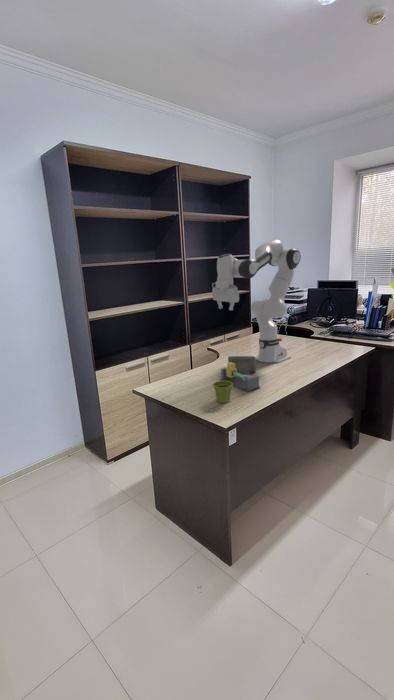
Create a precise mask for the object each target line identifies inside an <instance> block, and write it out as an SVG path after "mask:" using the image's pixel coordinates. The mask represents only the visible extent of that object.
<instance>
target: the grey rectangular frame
mask: <svg viewBox="0 0 394 700" xmlns="http://www.w3.org/2000/svg"><path fill="white" fill-rule="evenodd" d="M226 368H227V367H223V368H221V369H220V376H221V377H220V379H219V381H230V382H232V383H233V385H232V387H235V388H236V389H239V390H241V391H243V392H246V393H250V392H252V391H255V390H258V389H261V386H260V376H258V375H254V376H252V375H250V374H249V375H242V374H239V373H237V372H234V371H232V374H233V375H235V376H236V377H232V378H230V377H227V376H226Z"/></svg>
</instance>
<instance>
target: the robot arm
mask: <svg viewBox="0 0 394 700" xmlns="http://www.w3.org/2000/svg"><path fill="white" fill-rule="evenodd" d="M301 258H302V255H301V252H300V250H298V249H296V248H287V247H286V248H285V247H284V244H283V243H282V241H281V240H279V239H272V240H269V241H266V242H263V243H262V244H260V245H259V246H257V247H256V249H255V251H254V259H252V258H248V259H247V258H246V259H237V258H236V257H234V255H232V253H225V254H220V255H219V256H218V257H217V261H216V272H217V276H216V277H217V278H216V281H215V282H213V283H212V284H211V287H212V293H211V294H212V296H211V297H212V300H213V301H216V303H217V305H218V309H220V310H222V309H223V307H224V305H222V302H226V303H229V307H228V310H229V311H234V306H235V303H239V301H240V292H239V290H238V286H237V285H235V284H234V278H242V279H243V278H244V279H252V278H254V277H255V275H256V274H257V273H258V272H259V271H260V270H261V269H262V268H264V267H265V266H267V265H270V266H272V267H278V271H276V273H275V275H274V277H273V278H272V281H271V283H270V285H269V287H268V292H269V294H270V297H269V299H267V298H259V299H255V300H254V301H252V303H251V306H250V310H251V311H250V312H251V313H252V314H253V315H254V316H255V318H256V321H257V324H258V328H259V331H258V332H259V338H258V345H259V347H258V355H257V359H256V360H257V361H259V362H261V363H277V364H279V363H281V362H284V361H286V360H288V359H290V358H291V355H290V354H288V350H287V348H286V347H285V346H283V344H281V343H280V342H283V338H281V337H278V326H277V324H276V323H275V322H274V321H273V319H280V318H283V317H285V315H286V314H287V311H288V307H287V304H286V303H285V298H286V293H287V292H288V289H290V286H291V283H292V281H293V278H294V274H295V269H296V268H298V267H297V266H298V265H299V263H300V261H301Z"/></svg>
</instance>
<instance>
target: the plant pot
mask: <svg viewBox="0 0 394 700" xmlns="http://www.w3.org/2000/svg"><path fill="white" fill-rule="evenodd" d="M232 385H233V383H232V382H230V381H220V380H218V381H215V382H213V383H212V387H213V389H214V392H215V397H216V401H217V402H218V403H219V404H226V403H229V402H230V400H231V394H232V393H231V392H232V391H231V390H232V387H233V386H232Z"/></svg>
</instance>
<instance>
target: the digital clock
mask: <svg viewBox="0 0 394 700" xmlns="http://www.w3.org/2000/svg"><path fill="white" fill-rule="evenodd" d="M256 358H257V357H256V356H254V355H229V356H228V357H227V360H228V362H227V363H229V362H232V363H235V368H237V373H239V374H242V375H250V373H255V372H256V371H257V362H256V360H257V359H256Z"/></svg>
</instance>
